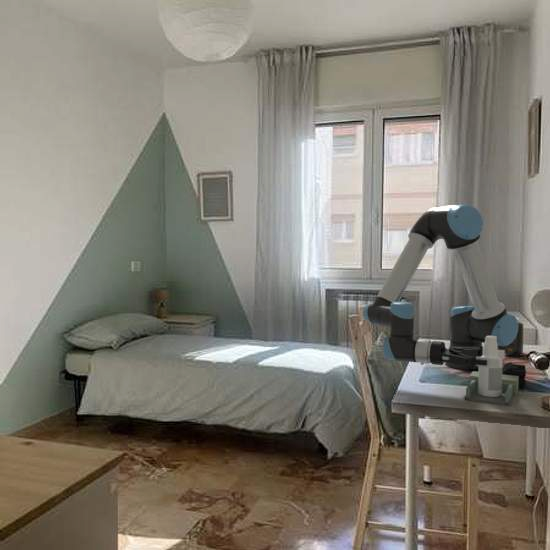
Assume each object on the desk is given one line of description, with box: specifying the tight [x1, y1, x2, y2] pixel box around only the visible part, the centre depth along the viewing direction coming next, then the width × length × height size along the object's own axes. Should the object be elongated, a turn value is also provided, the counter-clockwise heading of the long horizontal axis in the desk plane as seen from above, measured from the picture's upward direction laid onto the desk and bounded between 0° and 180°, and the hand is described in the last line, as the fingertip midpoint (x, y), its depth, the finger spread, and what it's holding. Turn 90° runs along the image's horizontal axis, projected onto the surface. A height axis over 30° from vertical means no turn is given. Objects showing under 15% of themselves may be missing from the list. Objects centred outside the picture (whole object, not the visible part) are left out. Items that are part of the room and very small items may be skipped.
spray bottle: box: [477, 336, 503, 397], centre depth 168 cm, size 7×7×18 cm
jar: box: [498, 317, 524, 356], centre depth 234 cm, size 12×12×15 cm
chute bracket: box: [463, 370, 519, 406], centre depth 171 cm, size 20×14×4 cm
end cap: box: [502, 361, 527, 390], centre depth 183 cm, size 10×7×7 cm
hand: (502, 359), depth 166 cm, fingers open, 13 cm apart
